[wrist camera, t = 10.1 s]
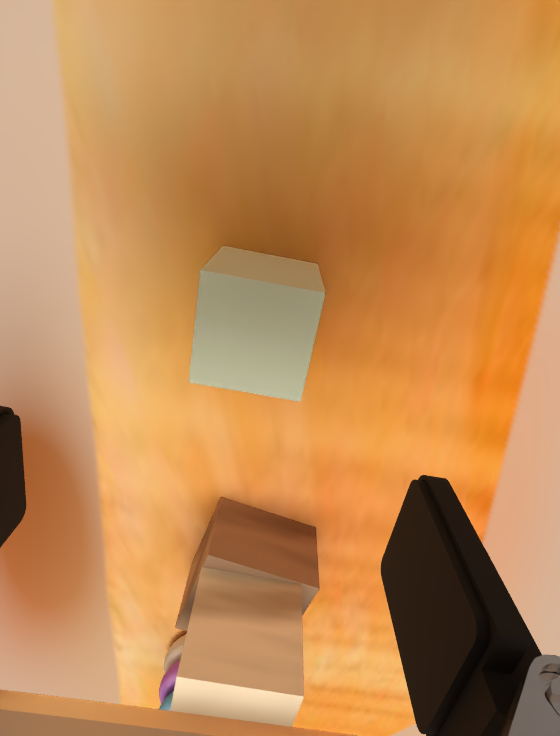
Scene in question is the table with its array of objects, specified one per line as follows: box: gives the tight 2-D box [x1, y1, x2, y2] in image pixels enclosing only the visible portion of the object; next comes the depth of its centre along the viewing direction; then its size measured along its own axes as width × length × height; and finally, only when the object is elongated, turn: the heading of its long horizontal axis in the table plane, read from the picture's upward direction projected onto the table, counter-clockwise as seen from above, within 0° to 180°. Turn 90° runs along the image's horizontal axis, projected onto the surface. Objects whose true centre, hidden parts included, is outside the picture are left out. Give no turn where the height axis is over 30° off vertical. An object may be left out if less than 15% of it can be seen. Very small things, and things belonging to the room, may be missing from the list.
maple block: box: [170, 567, 304, 727], centre depth 24 cm, size 6×6×6 cm
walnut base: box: [175, 497, 320, 631], centre depth 29 cm, size 7×7×5 cm
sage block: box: [189, 246, 326, 402], centre depth 21 cm, size 5×5×6 cm
